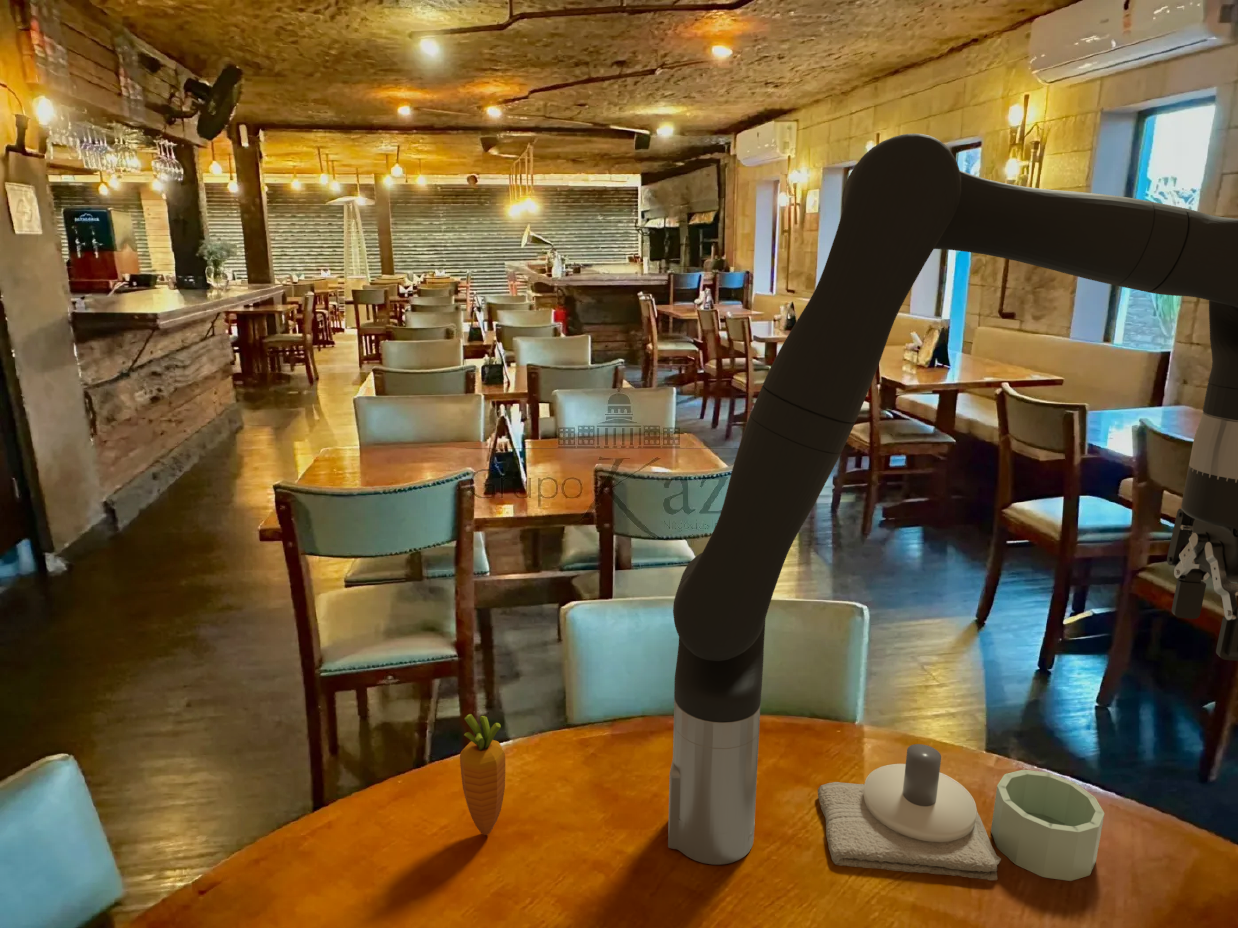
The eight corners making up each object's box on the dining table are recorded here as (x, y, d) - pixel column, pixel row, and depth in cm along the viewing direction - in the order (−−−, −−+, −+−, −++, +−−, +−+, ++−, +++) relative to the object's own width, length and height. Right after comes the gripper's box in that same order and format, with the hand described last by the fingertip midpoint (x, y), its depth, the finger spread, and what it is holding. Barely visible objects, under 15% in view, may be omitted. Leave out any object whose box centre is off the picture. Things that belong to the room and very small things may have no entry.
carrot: (517, 833, 89) (513, 715, 86) (481, 856, 86) (476, 734, 82) (489, 813, 93) (484, 698, 89) (454, 834, 89) (448, 716, 86)
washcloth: (1005, 887, 83) (1009, 862, 82) (829, 872, 85) (832, 847, 84) (969, 811, 94) (972, 788, 94) (815, 799, 96) (817, 777, 95)
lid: (868, 832, 86) (873, 779, 85) (859, 766, 98) (864, 718, 96) (986, 849, 84) (994, 794, 82) (963, 779, 95) (969, 730, 94)
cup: (1005, 871, 84) (1012, 823, 83) (983, 809, 94) (989, 765, 92) (1108, 886, 82) (1118, 837, 81) (1075, 821, 92) (1083, 776, 90)
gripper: (1158, 447, 77) (1130, 601, 81) (1236, 487, 63) (1199, 670, 67) (1245, 451, 75) (1213, 608, 79) (1345, 492, 62) (1300, 679, 66)
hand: (1206, 636), depth 73 cm, fingers open, 8 cm apart
